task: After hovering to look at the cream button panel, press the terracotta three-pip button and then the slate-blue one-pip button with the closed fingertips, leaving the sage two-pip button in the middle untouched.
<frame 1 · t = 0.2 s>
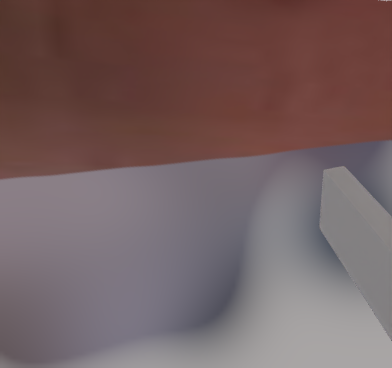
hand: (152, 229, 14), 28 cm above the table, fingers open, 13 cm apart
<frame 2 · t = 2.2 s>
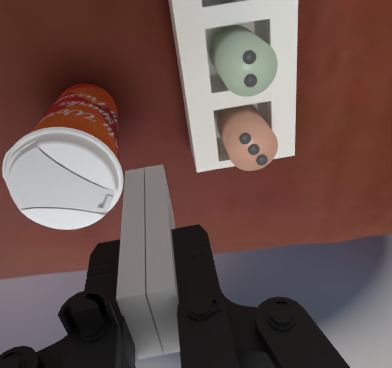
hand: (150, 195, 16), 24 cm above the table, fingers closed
panel: (226, 42, 36), on the table
button three: (245, 135, 35), point 7 cm above the table, slide at 0.0 cm
coffee cup: (87, 110, 38), on the table
button two: (241, 59, 31), point 7 cm above the table, slide at 0.0 cm
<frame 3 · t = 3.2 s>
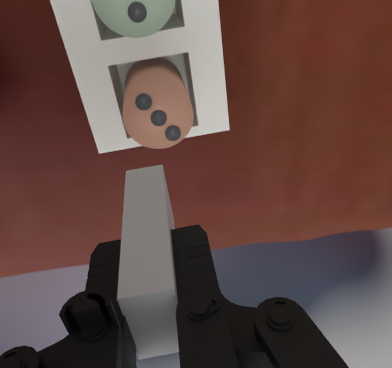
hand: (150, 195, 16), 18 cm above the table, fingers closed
button three: (156, 100, 25), point 7 cm above the table, slide at 0.0 cm
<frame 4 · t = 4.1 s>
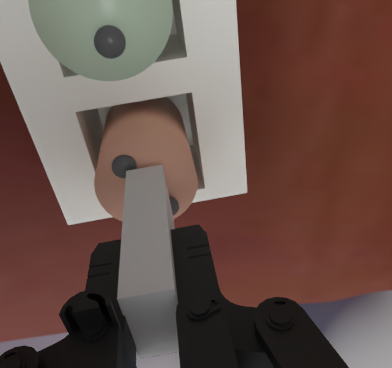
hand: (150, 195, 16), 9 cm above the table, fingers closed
button three: (145, 154, 18), point 6 cm above the table, slide at 0.5 cm, touching gripper
button two: (109, 0, 14), point 7 cm above the table, slide at 0.0 cm
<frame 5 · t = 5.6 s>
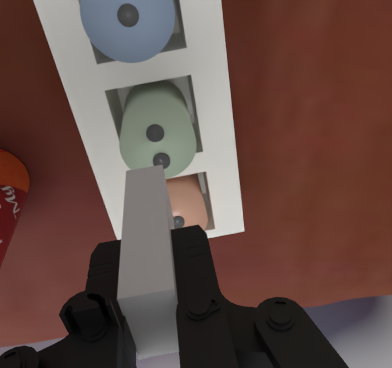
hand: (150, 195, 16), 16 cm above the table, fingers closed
button one: (130, 7, 20), point 7 cm above the table, slide at 0.0 cm
panel: (155, 93, 29), on the table
button three: (174, 198, 29), point 5 cm above the table, slide at 1.9 cm
button two: (157, 126, 24), point 7 cm above the table, slide at 0.0 cm
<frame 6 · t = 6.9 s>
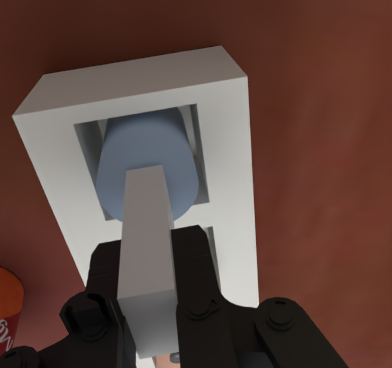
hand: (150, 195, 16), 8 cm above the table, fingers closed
button one: (147, 156, 18), point 5 cm above the table, slide at 1.7 cm, touching gripper
panel: (165, 208, 26), on the table
button three: (186, 325, 26), point 5 cm above the table, slide at 1.9 cm
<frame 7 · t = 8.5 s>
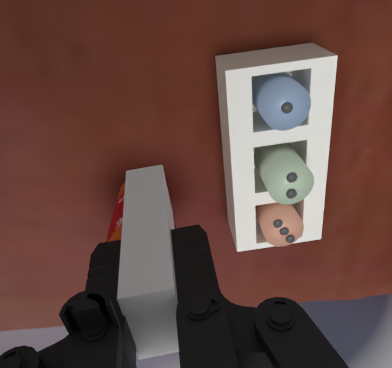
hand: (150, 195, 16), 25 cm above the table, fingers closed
button one: (277, 97, 35), point 5 cm above the table, slide at 1.9 cm
panel: (264, 143, 43), on the table
button three: (276, 215, 42), point 5 cm above the table, slide at 1.9 cm
coffee cup: (143, 193, 45), on the table
button two: (282, 170, 37), point 7 cm above the table, slide at 0.0 cm
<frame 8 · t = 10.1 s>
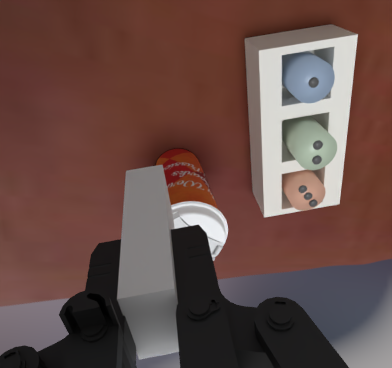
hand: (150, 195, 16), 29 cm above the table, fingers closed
button one: (302, 74, 39), point 5 cm above the table, slide at 1.9 cm
panel: (287, 117, 47), on the table
button three: (299, 183, 47), point 5 cm above the table, slide at 1.9 cm
coffee cup: (176, 167, 49), on the table
button two: (306, 140, 41), point 7 cm above the table, slide at 0.0 cm
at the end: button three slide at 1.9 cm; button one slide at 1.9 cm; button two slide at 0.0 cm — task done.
